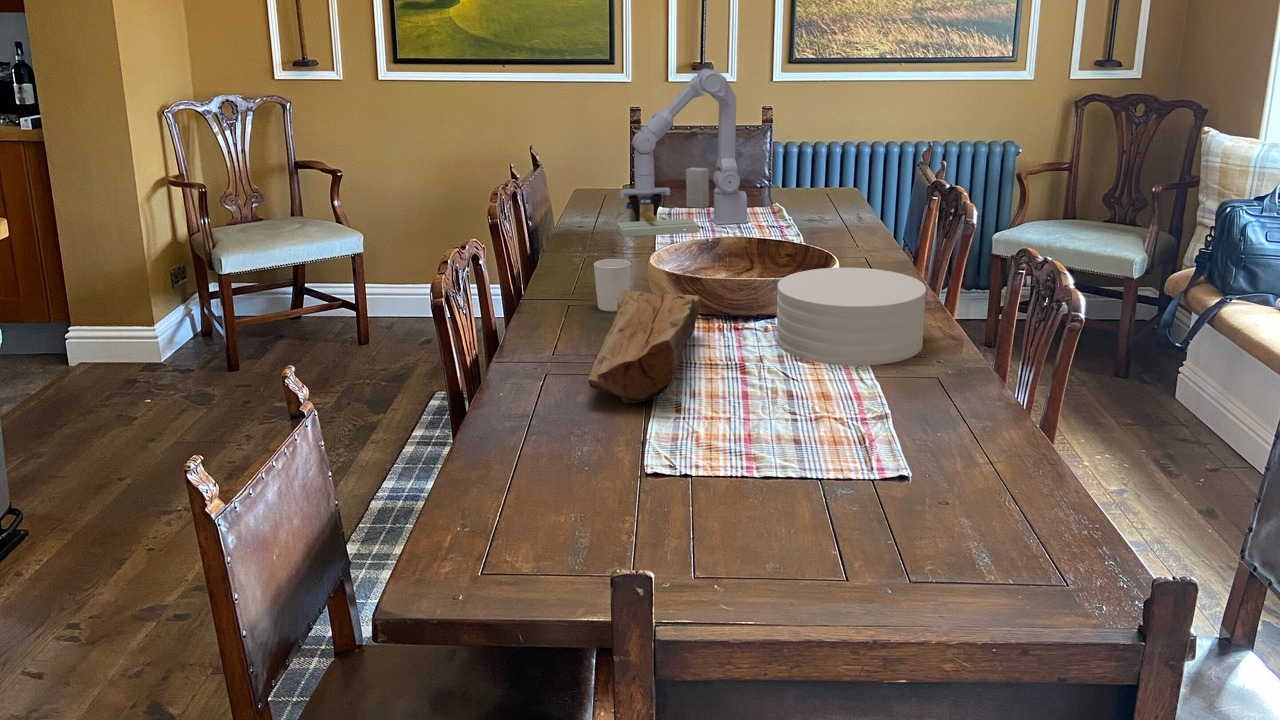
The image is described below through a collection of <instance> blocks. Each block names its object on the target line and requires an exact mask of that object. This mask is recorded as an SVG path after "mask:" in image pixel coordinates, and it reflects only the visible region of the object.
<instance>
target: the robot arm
mask: <svg viewBox="0 0 1280 720" xmlns="http://www.w3.org/2000/svg"><path fill="white" fill-rule="evenodd" d="M704 93H706V94H708V95H710V96H711V97H712V98H713V99H714V100H715V101H716V102H717V103H718V136H717V137H718V138H717V139H718V140H717V141H718V142H717V143H718V144H717V145H718V146H717V147H718V148H717V151H718V152H717V161H716V162H715V163H716V165H715V167H716V168H715V170H714V172H713V175H712V180H713V183H714V185H716V186H715V188H714V190H713V202H714V203H713V213H714V214H713V217H710V221H712V222H713V223H714V224H715V225H733V224H734V225H735V224H748V222H749V221H748V198H747V193H746V191H744V190H739V187H740V185H741V178H740V176H739V174H738V164H737V162H736V139H737V138H736V134H737V133H736V132H737V131H736V130H737V129H736V128H737V95H736V94H735V92H734V90H733V89H732V87H731V85H730V84H729V81H728V80H727V78H726V77H725V76H724V75H723V74H721V73H720V72H719V71H717V70H712V69H711V68H703V69H701V70H700V71H698V73H697V75H696V76H695V75H694V77H692V78H691V79H689V81H688V82H687V83H686V84H685V85H684V86H683V88H682V89H681V91H680V92H679V93H678V94H677V95H676V96H675V98H674V99H673V100H672V102H671V103H669V105H668V106H667V107H666V108H665V109H664V110H658V111H657V112H654V111H653V113H652V114H651V117H652V118H651V119H649V121H648V122H647V123H646V124H645V125H644V126H643V125H642V126H641V127H640V128H639V129H640V130H641V131H638V132H636V133H635V135H634V136H633V138H632V140H631V144H632V147H633V148H634V151H633V152H634V153H633V155H634V159H633V165H634V169H633V170H634V188H627V189H619V197H620V198H621V199H623V198H624V199H625V198H627V199H628V202H630V203H631V205H632V208H633V209H632V211H633V214H634V218H635V219H634V220H635V222H638V221H639V202H640V200H639V197H651V203H652V204H653V205H654V216H655V217H656V218H657V213H658V209H659V206H660V204H661V202H662V199H663V196H670V195H671V188H670V187H655V158H654V150H655V148H656V144H657V143H656V142H659V141H660V140H661V139H662V138H663V137H664V136H665V134H666V133H667V132H668V131H669V130H670V129H671V128H672V127H673V125H674V119H675V117H676V116H677V115H678V114H679V113H680V112H681V111H682V110H684V108H685V107H687V105H688V104H689V103H690V102H691V101H692V100H693V99H695V98H698V97H702V96H705V94H704Z"/></svg>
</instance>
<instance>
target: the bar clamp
mask: <svg viewBox="0 0 1280 720" xmlns="http://www.w3.org/2000/svg"><path fill="white" fill-rule="evenodd" d="M649 202H650V203H651V196H641V199H640V200H639V203H649ZM625 206H626V209H628V210H629V209H630V210H633V208H632V205H631V203H630V201H628V202H627V203H626V205H625Z"/></svg>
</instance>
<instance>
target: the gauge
mask: <svg viewBox="0 0 1280 720" xmlns="http://www.w3.org/2000/svg"><path fill="white" fill-rule="evenodd" d="M656 220H657V216H656V217H655V216H654V205H653V204H652V203H650V202H649V203H639V221H651V222H656Z"/></svg>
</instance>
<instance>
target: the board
mask: <svg viewBox="0 0 1280 720" xmlns="http://www.w3.org/2000/svg"><path fill="white" fill-rule="evenodd" d="M697 228H700V226H699V224H698V223H697V222H696V221H695V220H693V218H675V219H658V220H657V219H656V222H651V221H638V222H637V221H624V222H616V230H617V232H618V234H620V236H621V237H622V238H626V237H627V238H628V237H629V238H630V237H645V236H657V235H658V236H659V235H661V236H662V235H673V234H690V233H691V234H692V233H693V234H694V233H700V232H699V231H700V229H697ZM683 229H686V230H683Z"/></svg>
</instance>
